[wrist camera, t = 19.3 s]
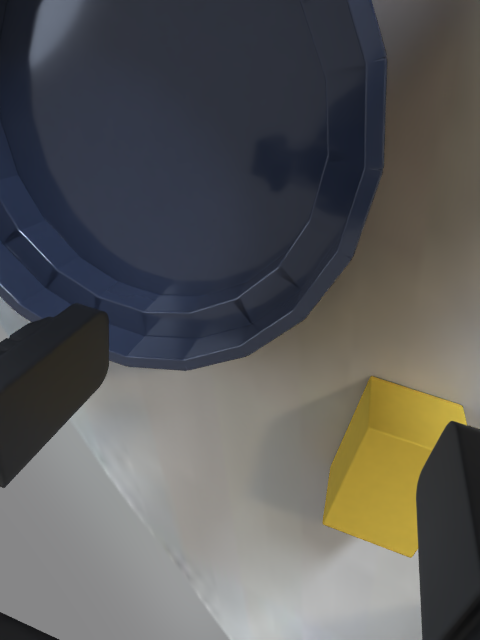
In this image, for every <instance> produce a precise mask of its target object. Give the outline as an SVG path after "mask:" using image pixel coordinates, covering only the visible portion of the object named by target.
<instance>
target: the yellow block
mask: <svg viewBox="0 0 480 640" xmlns="http://www.w3.org/2000/svg"><path fill="white" fill-rule="evenodd" d="M450 421H455V422H458V423H461V424H464V425H467V423H466V419H465V414H464V410H463V406H462V405H459V404H456V403H453V402H450V401H447V400H444V399H441V398H438V397H435V396H432V395H429V394H426V393H422V392H419V391H416V390H413V389H410V388H407V387H404V386H401V385H398V384H395V383H392V382H389V381H385V380H382V379H379V378H376V377H373V376H371V377H370V378H369V381H368V383H367V385H366V387H365V390H364V392H363V394H362V397H361V399H360V401H359V403H358V406H357V408H356V410H355V412H354V415H353V417H352V419H351V421H350V424H349V426H348V428H347V431H346V433H345V435H344V437H343V440H342V442H341V444H340V446H339V449H338V451H337V453H336V455H335V458H334V460H333V462H332V465H331V467H330V473H329V480H328V487H327V494H326V501H325V508H324V515H323V525H326V526H328V527H331V528H334V529H336V530H339V531H342V532H344V533H347V534H349V535H352V536H355V537H357V538H360V539H363V540H365V541H368V542H370V543H373V544H376V545H378V546H381V547H384V548H386V549H389V550H392V551H394V552H397V553H399V554H402V555H405V556H407V557H410V558H411V557H412V556H413V555H414V554H415V552H416V551H417V549H418V531H417V510H416V490H417V484H418V479H419V476H420V473H421V471H422V468H423V466H424V465H425V463H426V461H427V459H428V457H429V456H430V454H431V452H432V450H433V448H434V446H435V445H436V443H437V441H438V439H439V437H440V436H441V434H442V432H443V430H444V428H445V427H446V425H447V424H448V423H449V422H450Z"/></svg>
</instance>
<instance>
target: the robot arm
mask: <svg viewBox="0 0 480 640" xmlns="http://www.w3.org/2000/svg"><path fill="white" fill-rule="evenodd" d="M108 367H109V318H108V315H107V313H106V312H104V311H101V310H97V309H94V308H91V307H88V306H85V305H81V304H78V303H74V304H72V305H70V306H69V307H67V308H66V309H65V310H63V311H62V312H60V313H59V314H58V315H56V316H55V317H50V316H49V317H46V318H43V319H40V320H37V321H34V322H32V323H29V324H27V325H25V326H24V327H22V328H21V329H19V330H18V331H16V332H15V333H13V334H12V335H10V338H9V339H7V338H6V339H5V340H3V341H2V342H0V487H3V488H5V487H6V486H7V485H8V484H9V483H10V481H11V480H12V479H13V478H14V477H15V476H16V475H17V474H18V473H19V472H20V471H21V470H22V469H23V468H24V467H25V466H26V464H27V463H28V462H29V461H30V460H31V459H32V458H33V457H34V456H35V455H36V454H37V453H38V452H39V451H40V450H41V449H42V447H43V446H44V445H45V444H46V443H47V442H48V441H49V440H50V439H51V438H52V437H53V436H54V435H55V434H56V433H57V432H58V430H59V429H60V428H61V427H62V426H63V425H64V424H65V423H66V422H67V421H68V420H69V419H70V418H71V417H72V416H73V415H74V413H75V412H76V411H77V410H78V409H79V408H80V407H81V406H82V405H83V404H84V403H85V402H86V401H87V400H88V399H89V398H90V396H91V395H92V394H93V393H94V392H95V391H96V390H97V389H98V388H99V387H100V385H101V384H102V382H103V381H104V379H105V377H106V374H107V371H108ZM416 510H417V531H418V553H419V574H420V596H421V617H422V638H423V640H480V429H477V428H474V427H471V426H467V425H464V424H461V423H458V422H455V421H450V422H449V423H448V424H447V425H446V427H445V428H444V430H443V432H442V434H441V436H440V437H439V439H438V441H437V443H436V445H435V446H434V448H433V450H432V452H431V454H430V456H429V457H428V459H427V461H426V463H425V465H424V466H423V468H422V471H421V473H420V476H419V479H418V484H417V490H416ZM0 640H59V639H57V638H55V637H52V636H50V635H48V634H46V633H43V632H41V631H39V630H37V629H35V628H33V627H31V626H29V625H27V624H24V623H22V622H20V621H18V620H16V619H14V618H12V617H9V616H7V615H5V614H3V613H1V612H0Z"/></svg>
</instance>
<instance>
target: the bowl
mask: <svg viewBox="0 0 480 640" xmlns="http://www.w3.org/2000/svg"><path fill="white" fill-rule="evenodd" d="M386 55H387V54H386V50H385V47H384V43H383V40H382V36H381V32H380V29H379V25H378V22H377V18H376V14H375V11H374V7H373V4H372V0H0V297H1V298H2V299H3V300H5V301H6V302H7V303H8V304H9V305H10V306H11V307H12V308H13V309H14V310H15V311H16V312H17V313H18V314H20V315H21V316H23V317H25V318H26V319H28V320H29V321H31V322H34V321H37V320H40V319H43V318H46V317H49V316H50V317H55V316H56V315H58V314H59V313H60V312H62V311H63V310H65V309H66V308H67V307H69V306H70V305H72V304H74V303H78V304H81V305H85V306H88V307H91V308H94V309H97V310H101V311H104V312H106V313H107V315H108V318H109V360H110V361H112V362H115V363H118V364H121V365H124V366H128V367H139V368H153V369H167V370H182V371H187V370H192V369H197V368H201V367H205V366H209V365H213V364H217V363H222V362H226V361H230V360H234V359H238V358H242V357H246V356H249V355H250V354H252V353H253V352H255V351H257V350H258V349H260V348H261V347H263V346H264V345H266V344H267V343H269V342H271V341H272V340H274V339H275V338H277V337H278V336H280V335H282V334H283V333H285V332H286V331H288V330H289V329H291V328H292V327H294V326H296V325H297V324H299V323H300V322H302V321H303V320H304V319H306V317H307V316H308V315H309V314H310V312H311V311H312V310H313V308H314V307H315V306H316V305H317V303H318V302H319V301H320V299H321V298H322V297H323V296H324V294H325V293H326V292H327V291H328V289H329V288H330V287H331V285H332V284H333V283H334V282H335V280H336V279H337V278H338V276H339V275H340V274H341V273H342V271H343V270H344V269H345V267H346V266H347V265H348V264H349V262H350V261H351V260H352V257H353V256H354V253H355V250H356V247H357V244H358V241H359V239H360V236H361V233H362V230H363V227H364V224H365V222H366V219H367V216H368V213H369V210H370V207H371V205H372V202H373V199H374V196H375V193H376V190H377V187H378V185H379V182H380V179H381V176H382V173H383V168H384V147H385V115H386V83H387V57H386Z"/></svg>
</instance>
